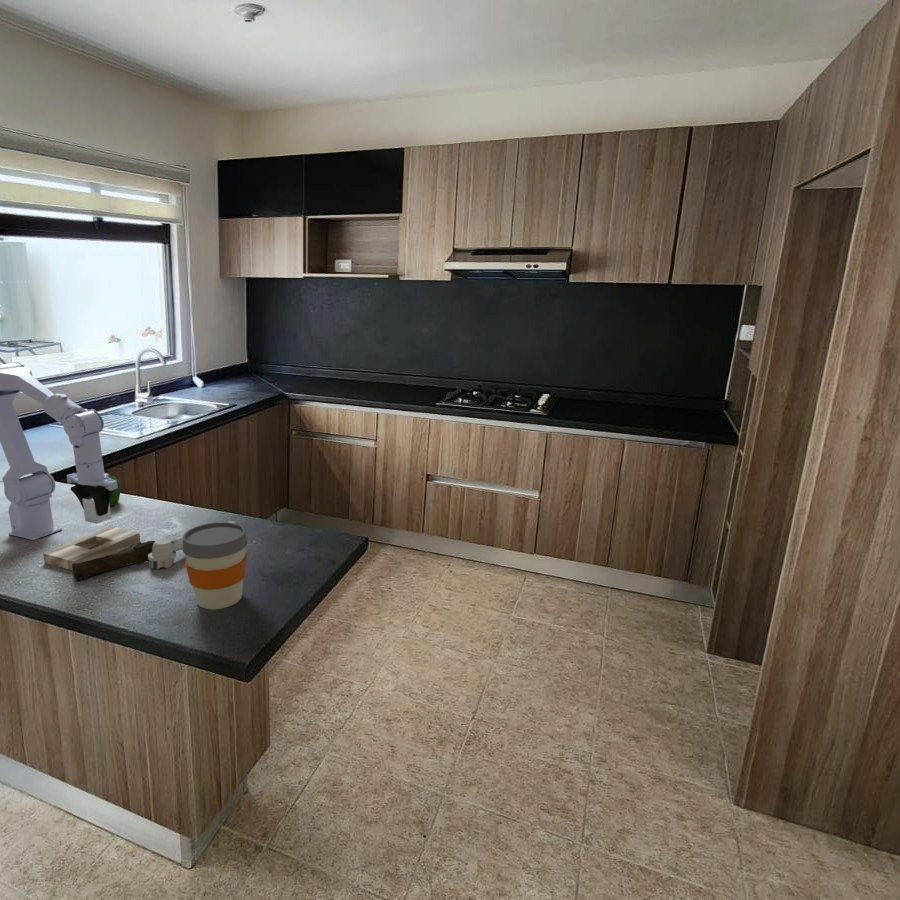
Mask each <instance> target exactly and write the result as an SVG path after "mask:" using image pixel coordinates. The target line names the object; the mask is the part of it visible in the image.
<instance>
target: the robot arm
mask: <svg viewBox="0 0 900 900" xmlns="http://www.w3.org/2000/svg"><path fill="white" fill-rule="evenodd" d="M21 393H22V394H24V395H26V396H27V397H29V398H31V399H33V400H35V401H36V402H38V403H39V404H40V405H42V406H43V408H42V409H43V412H44V413H45V414H47V415H48V416H50V417H51V419H52V418H53V419H54V420H55V421H56V422H58V423H60V424H61V425H62V426H63V429H64V432H65V433H66V435H67V436H68V438H69V443H70V445H72V449H73V455H74V456H73V457H74V462H75V469H76V472H73V473H69V474H67V475H66V480H67V483H69V484H72V483H75V484H74V486H71V487H70V491H71V492H72V493H73V494H74V495H75V496H76V498H77V499H78V501H79V503H80V505H81V508H82V510H83V511H84V507H83V500H82V498H85V497H88V496H92V498H93V500H94V502H95V505H96V510H97V513H98V515H99V516H102V515H105V514H107V513H108V507H109V502H110V498H111V496H112V493H113V491H114V490H115V489H117V488H118V486H117V481H115V480H112V479H110V478H109V477H108V474H109V473H108V474H105V473H106V472H105V468H104V461H103V453H102V447H101V444H102V443H101V439H100V438H101V437H100V433H101V432H102V431H103V430H104V423H105V422H104V419H103V416H102V415H101V414H100V413H99V412H98V411H97V410H95V409H93V408H91V409H87V408H83V407H82V406H80V405H79V404H77V403H76V402H74V401H73V400H72V399H70V398H69V396H68V395H66V393H53V392H52V391H51V390H50V389H48V388H47V387H46V386H45V385H44V384H43V383H41V382H40V381H39V380H38V379H37V378H35V376H33V372H32V370H31V368H29V367H27V366H26V365H25V363H22V362H20V361H16V362H15V361H14V362H11V363H4V364H3V363H1V364H0V445H1V449H2V450H3V453H4V455H5V458H6V461H7V463H8V465H9V469H8V470H7V471H6V473H5V474H4V475H3V476H2V478H1V480H2V482H3V486H4V488H3V492H4V495H5V498H6V499H7V500H8V501H9V502H10V505H9V507H8V516H9V520H10V521H9V522H10V527H11V531H9V532H8V535H11V536H15V537H20V538H23V539H26V540H31V541H34V540H39V539H41V538H43V537H46V536H50V535H51V534H55V533H57V532H59V531H62V530H63V527H60V526H56V525H54V519H53V512H52V507H51V501H50V498H52V497H53V496H52V494H53V493H54V491H55V490H56V481H55V479H54V476H52V475H51V473H50V472H49V471H48V467H47V465H44V464H42V463H39V462H37V461H35V458H34V456H33V454H32V451H31V448H30V446H29V443H28V441H27V437H26V435H25V433H24V430H23V427H22V425H21V422H20V420H19V417H18V415H17V412H16V410H15V409H16V408H15V406H14V404H13V402H14V400H15V398H16V397H18V395H20V394H21ZM26 475H27V476H26ZM95 486H96V488H97V489H96V488H95Z"/></svg>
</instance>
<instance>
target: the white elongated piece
mask: <svg viewBox="0 0 900 900" xmlns="http://www.w3.org/2000/svg"><path fill="white" fill-rule="evenodd" d="M228 522H230V523H236V524H239V522H238V521H236V520H229V521H228ZM155 541H156V542H154V544H153V549H152V553H150V554H148V560H150V561H149V568H150V569H155V570H156V569H157V570H160V568H164V569H168V568H171V567H172V565H174V564H175V558H176V557H177V552H178V551H183V535H182V536H179V537H175V538H172V539H160V540H155Z"/></svg>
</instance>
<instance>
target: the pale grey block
mask: <svg viewBox="0 0 900 900" xmlns="http://www.w3.org/2000/svg"><path fill="white" fill-rule="evenodd" d="M82 500H83V507H84V510H83V513H84V515H83V516H84V522H88V523H93V524H100V523H103V522H106V521H107V520H111V519H112V515H111V513H112V512H111V506H110V503H109V507H108V513H107V514H105V515H102V516H99V515H98V513H97V510H96V505H95V502H94V500H93V498H92V496H88V497H85V498H82ZM83 507H82V508H83Z"/></svg>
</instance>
